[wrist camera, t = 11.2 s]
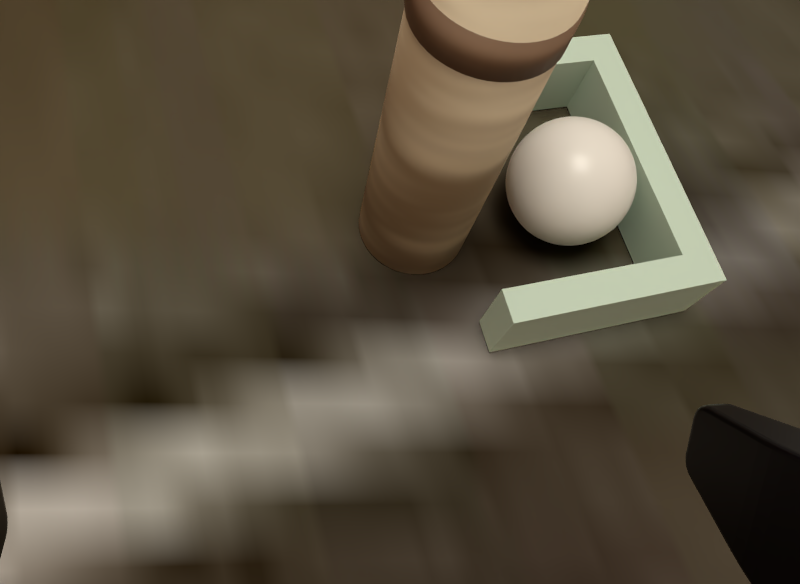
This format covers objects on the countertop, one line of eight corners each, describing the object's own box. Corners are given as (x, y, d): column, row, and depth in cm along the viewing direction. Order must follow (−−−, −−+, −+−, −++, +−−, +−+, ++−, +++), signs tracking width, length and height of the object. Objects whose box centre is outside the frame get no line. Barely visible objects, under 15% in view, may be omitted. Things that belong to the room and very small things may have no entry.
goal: (683, 311, 27) (726, 280, 24) (489, 352, 25) (513, 323, 22) (582, 81, 31) (609, 34, 28) (406, 101, 29) (419, 52, 26)
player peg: (484, 253, 26) (652, -32, 15) (387, 291, 25) (487, 13, 13) (434, 166, 28) (552, -161, 16) (339, 198, 26) (391, -131, 15)
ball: (544, 183, 22) (475, 241, 26) (664, 232, 23) (580, 280, 27) (557, 70, 24) (490, 139, 28) (667, 120, 25) (588, 180, 29)
